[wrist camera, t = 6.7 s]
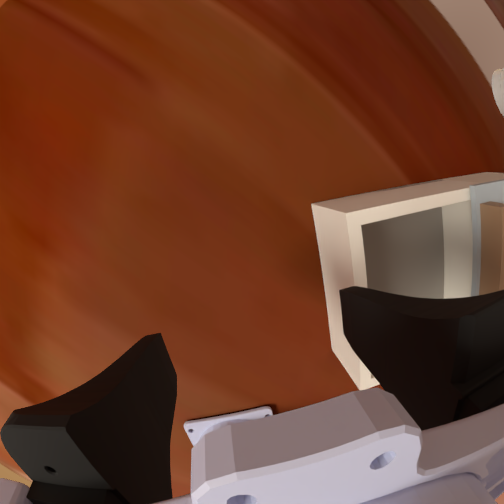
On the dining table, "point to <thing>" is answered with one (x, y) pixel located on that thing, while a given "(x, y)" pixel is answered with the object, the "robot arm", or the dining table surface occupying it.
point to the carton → (396, 248)
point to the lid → (487, 237)
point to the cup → (498, 88)
